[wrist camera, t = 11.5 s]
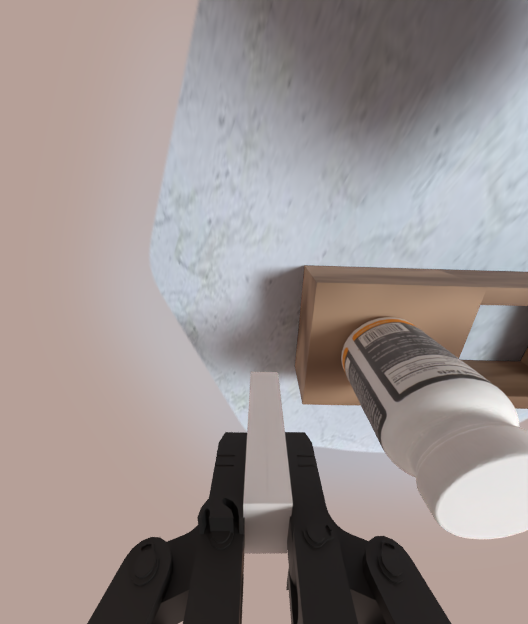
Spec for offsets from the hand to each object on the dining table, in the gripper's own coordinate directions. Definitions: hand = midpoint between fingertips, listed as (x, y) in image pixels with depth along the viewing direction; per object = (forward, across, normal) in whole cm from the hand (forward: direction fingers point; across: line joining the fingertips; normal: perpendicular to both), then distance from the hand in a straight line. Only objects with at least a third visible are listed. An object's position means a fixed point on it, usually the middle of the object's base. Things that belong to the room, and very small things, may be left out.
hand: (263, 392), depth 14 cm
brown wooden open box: (+9, +15, 0) cm, 18 cm away
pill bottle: (+4, +8, 0) cm, 9 cm away
